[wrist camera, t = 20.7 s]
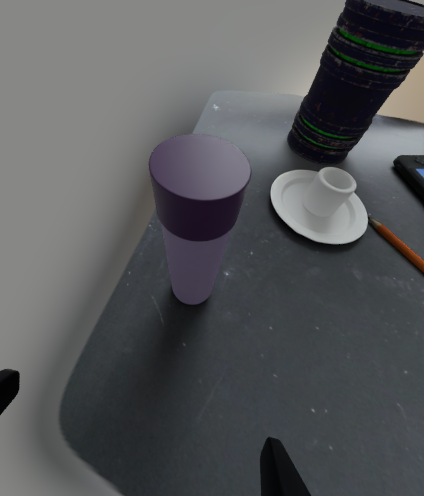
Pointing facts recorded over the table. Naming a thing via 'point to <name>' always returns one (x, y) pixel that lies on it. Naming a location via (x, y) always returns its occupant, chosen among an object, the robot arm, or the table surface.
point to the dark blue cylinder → (357, 76)
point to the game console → (412, 171)
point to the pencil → (398, 244)
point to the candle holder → (320, 205)
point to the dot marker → (197, 207)
